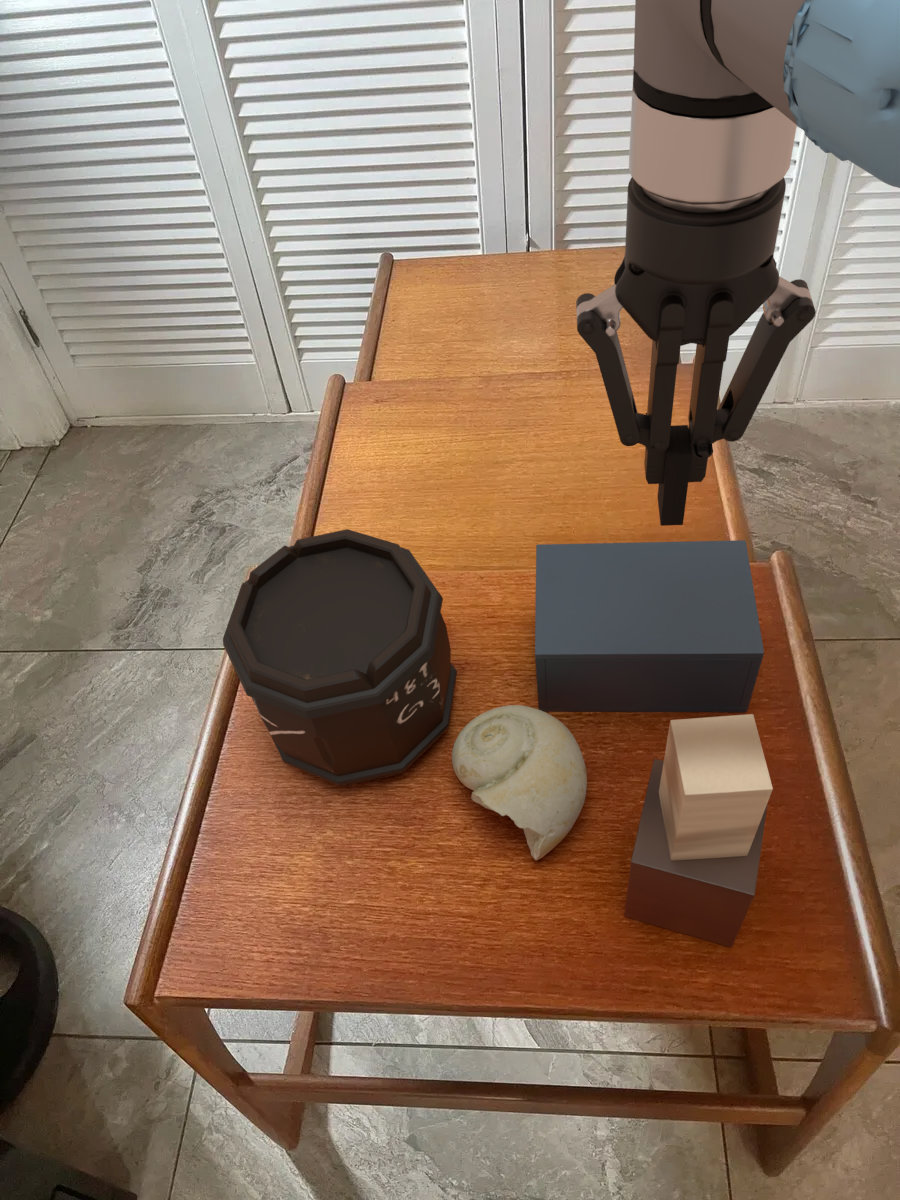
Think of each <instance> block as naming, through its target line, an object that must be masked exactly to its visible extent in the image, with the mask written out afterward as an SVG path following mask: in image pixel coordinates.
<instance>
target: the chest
mask: <svg viewBox="0 0 900 1200" xmlns="http://www.w3.org/2000/svg"><path fill="white" fill-rule="evenodd" d="M534 661H535V679H536V691H537V705H538V707H537V709H538V710H541V711H544V712H546V713H547V712H548V713H549V712H554V713H555V712H556V713H557V712H559V713H561V712H563V713H564V712H565V713H567V712H569V713H570V712H571V713H572V712H575V713H576V712H578V713H579V712H581V713H583V712H585V713H586V712H588V713H591V712H592V713H595V712H596V713H747V712H748V710H749V707H750V703H751V700H752V696H753V692H754V689H755V687H756V683H757V679H758V675H759V672H760V668H761V666H762V662H763V658H762V659H535V658H534Z"/></svg>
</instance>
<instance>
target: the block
mask: <svg viewBox="0 0 900 1200" xmlns="http://www.w3.org/2000/svg"><path fill="white" fill-rule="evenodd" d="M667 733H668V734H667V738H666V744H665V752H664V758H663V761H664V763H663V769H662V775H661V781H660V788H659V797H660V802H661V808H662V814H663V819H664V825H665V830H666V836H667V842H668V847H669V853H670V859H671V861H675V860H691V859H707V858H723V857H739V856H747V855H748V852H749V850H750V847H751V845H752V842H753V839H754V837H755V834H756V832H757V829H758V826H759V824H760V821H761V819H762V816H763V813H764V811H765V808H766V806H767V807H768V805H767V803H768V804H769V801H770V797H771V795H772V792H773V789H774V788H773V784H772V780H771V775H770V772H769V768H768V765H767V761H766V757H765V753H764V750H763V746H762V742H761V738H760V733H759V731H758V727H757V721H756V720H755V715H754V713H750V714H736V715H733V714H732V715H720V716H708V717H694V718H683V719H682V718H681V719H680V718H679V719H671V720H669V727H668V732H667Z"/></svg>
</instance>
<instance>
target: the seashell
mask: <svg viewBox="0 0 900 1200" xmlns="http://www.w3.org/2000/svg"><path fill="white" fill-rule="evenodd" d="M451 765H452V769H453V771H454V773H455V775H456V777H457V778H458V780H459V782H460V783H461V784H462V785H463V786H465V787H466V788H467V789H470V790H471V791H472V792H471V797H470V799H471V800H472V801H473V802H474V803H475V804H478V805H480V806H482V807H483V808H485V809H487V810H490V811H493V812H495V813H497V814H499V815H500V816H501V817H505V816H508V817H509V818H510V819H511V821H513V823H514V825H515V826H516V827H518V828H519V829H521V830H523V834H524V836H525V838H526V839H525V840H526V844H527V846H528V849H529V850H530V856H531V857H532V858H533V859H534V861H538V860H540V859H542V858H544V857H545V856H546V855H547V854H549V853H550V852H551V851H552V850H553V849H554V848H556V846H558V844H560V842H562V841H563V840H564V839H565V838H566V836H567V835H568V834H569V833H570V831H571V830H572V829H573V827H574V825H575V823H576V822H577V820H578V818H579V816H580V813H581V812H582V809H583V806H584V804H585V801H586V797H587V789H588V774H587V767H586V763H585V759H584V755H583V753H582V751H581V747H580V745H579V744H578V741H577V740H576V738H575V736H574V735H573V733H572V732H571V730H570V729H569V728H568V727H567V725H565V724H564V723H563V722H562V721H561V720H559V719H557V718H556V717H555V716H553V715H552V714H550V713H549V712H548V713H547V712H544V711H541V710H539V709H538V708H535V707H531V706H527V705H521V704H520V705H519V704H508V705H502V706H498V707H494V708H491V709H488V710H487V711H484V712H483V713H480V714H479V715H477V716H476V717H474V718H473V719H472V720H470V721H469V722H467V724H466V725H465V726H464V727H463V728H462V729H461V730H460V732H459V733H458V735H457V736H456V739H455V741H454V742H453V747H452V752H451Z"/></svg>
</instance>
